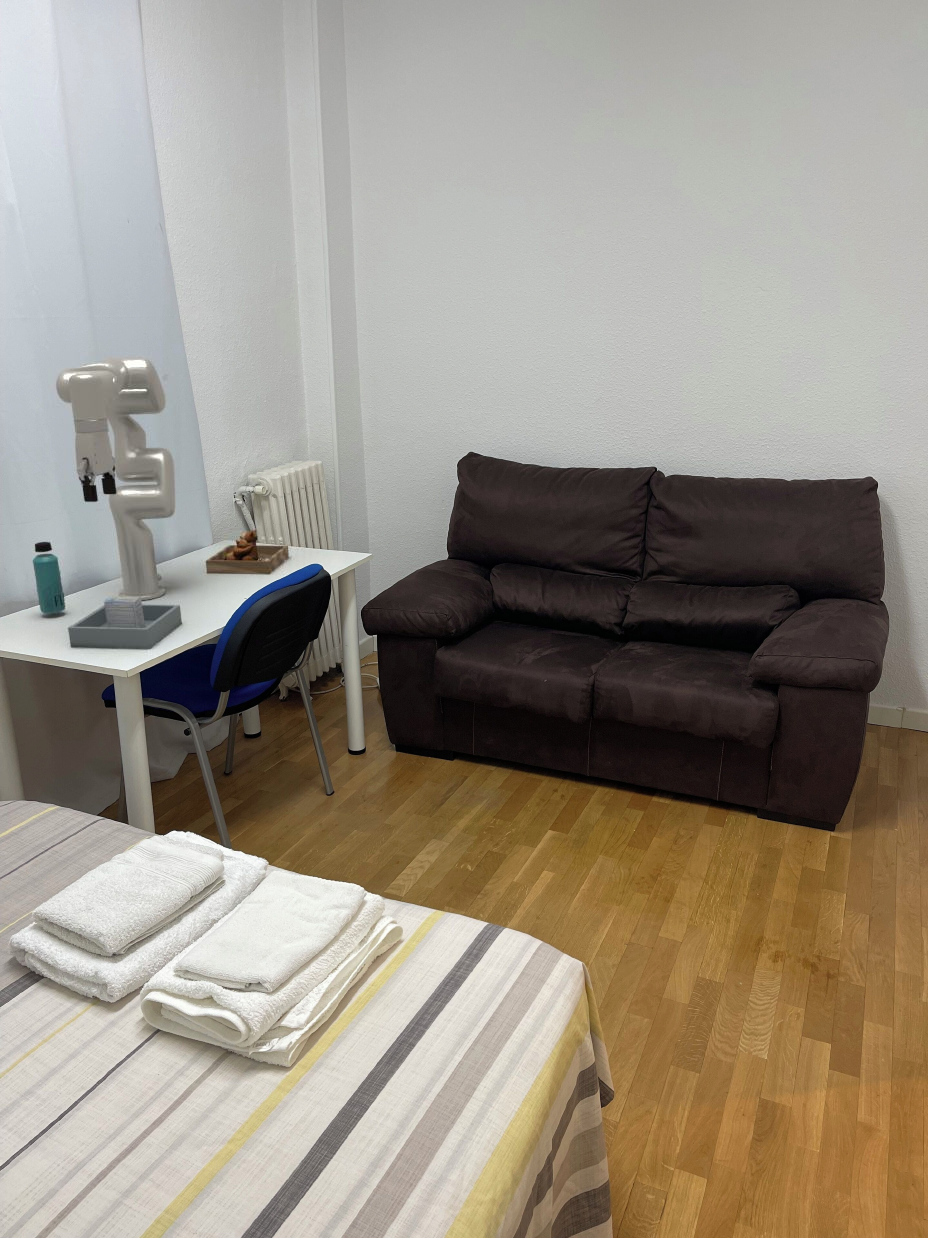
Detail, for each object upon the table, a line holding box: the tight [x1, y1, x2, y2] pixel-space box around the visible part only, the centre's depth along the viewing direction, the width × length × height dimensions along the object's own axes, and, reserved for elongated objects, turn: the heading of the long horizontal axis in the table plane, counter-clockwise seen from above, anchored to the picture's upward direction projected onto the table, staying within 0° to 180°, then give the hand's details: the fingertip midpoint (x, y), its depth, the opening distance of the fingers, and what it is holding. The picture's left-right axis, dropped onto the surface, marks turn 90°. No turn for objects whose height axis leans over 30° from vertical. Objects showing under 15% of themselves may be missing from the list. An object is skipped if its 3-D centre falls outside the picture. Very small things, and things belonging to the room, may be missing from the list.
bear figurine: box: [223, 529, 268, 561], centre depth 304 cm, size 14×15×12 cm
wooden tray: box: [205, 544, 290, 575], centre depth 308 cm, size 21×20×4 cm
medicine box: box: [103, 595, 145, 628], centre depth 241 cm, size 8×4×9 cm, turn 84°
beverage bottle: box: [32, 541, 66, 614], centre depth 257 cm, size 6×7×20 cm
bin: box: [67, 603, 183, 650], centre depth 242 cm, size 20×20×5 cm
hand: (100, 497), depth 236 cm, fingers open, 9 cm apart
